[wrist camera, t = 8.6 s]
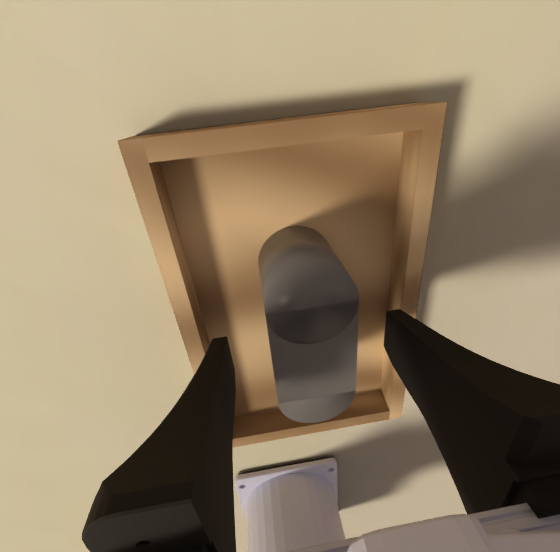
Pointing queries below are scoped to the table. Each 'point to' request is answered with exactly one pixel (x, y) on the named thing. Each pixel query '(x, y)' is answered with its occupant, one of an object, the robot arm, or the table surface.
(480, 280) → the table surface
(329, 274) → the grey rounded long block
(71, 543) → the table surface
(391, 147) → the oak tray
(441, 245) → the table surface
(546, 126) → the table surface
